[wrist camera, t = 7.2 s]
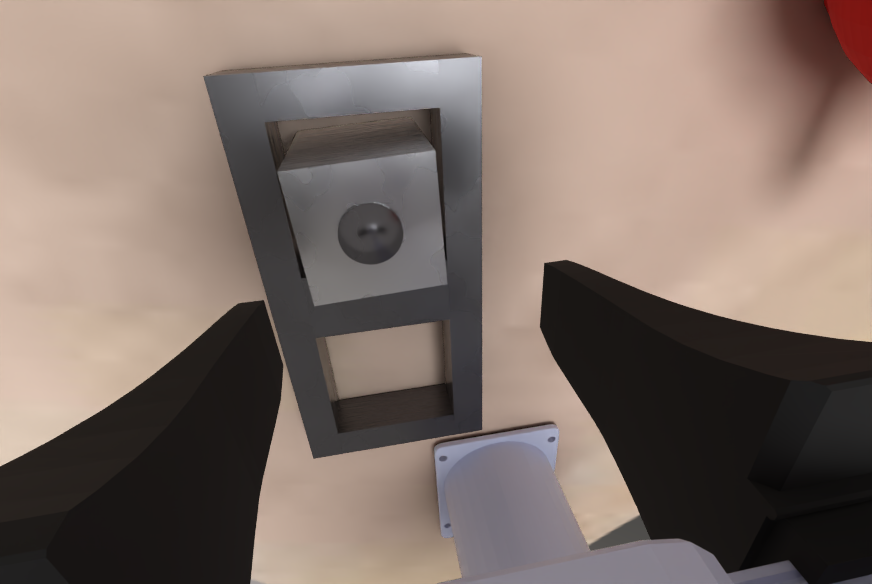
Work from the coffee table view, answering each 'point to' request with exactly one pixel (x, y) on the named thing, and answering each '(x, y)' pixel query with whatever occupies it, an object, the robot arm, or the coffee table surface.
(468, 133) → the dark grey double frame
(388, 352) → the coffee table surface
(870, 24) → the ceramic cup
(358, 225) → the block
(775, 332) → the robot arm
